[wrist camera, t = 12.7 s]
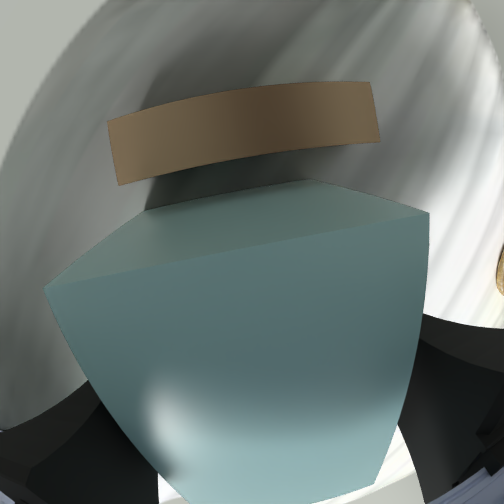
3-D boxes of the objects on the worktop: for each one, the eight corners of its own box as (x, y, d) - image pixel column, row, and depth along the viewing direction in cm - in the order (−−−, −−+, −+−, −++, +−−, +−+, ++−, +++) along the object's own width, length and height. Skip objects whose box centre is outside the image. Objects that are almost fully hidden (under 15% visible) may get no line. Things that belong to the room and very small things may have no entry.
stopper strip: (141, 179, 10) (118, 186, 7) (131, 129, 9) (106, 121, 7) (348, 144, 10) (380, 142, 8) (340, 96, 10) (369, 82, 7)
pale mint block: (205, 401, 13) (205, 517, 7) (143, 211, 10) (43, 288, 4) (325, 377, 14) (373, 484, 7) (309, 179, 10) (429, 213, 4)
